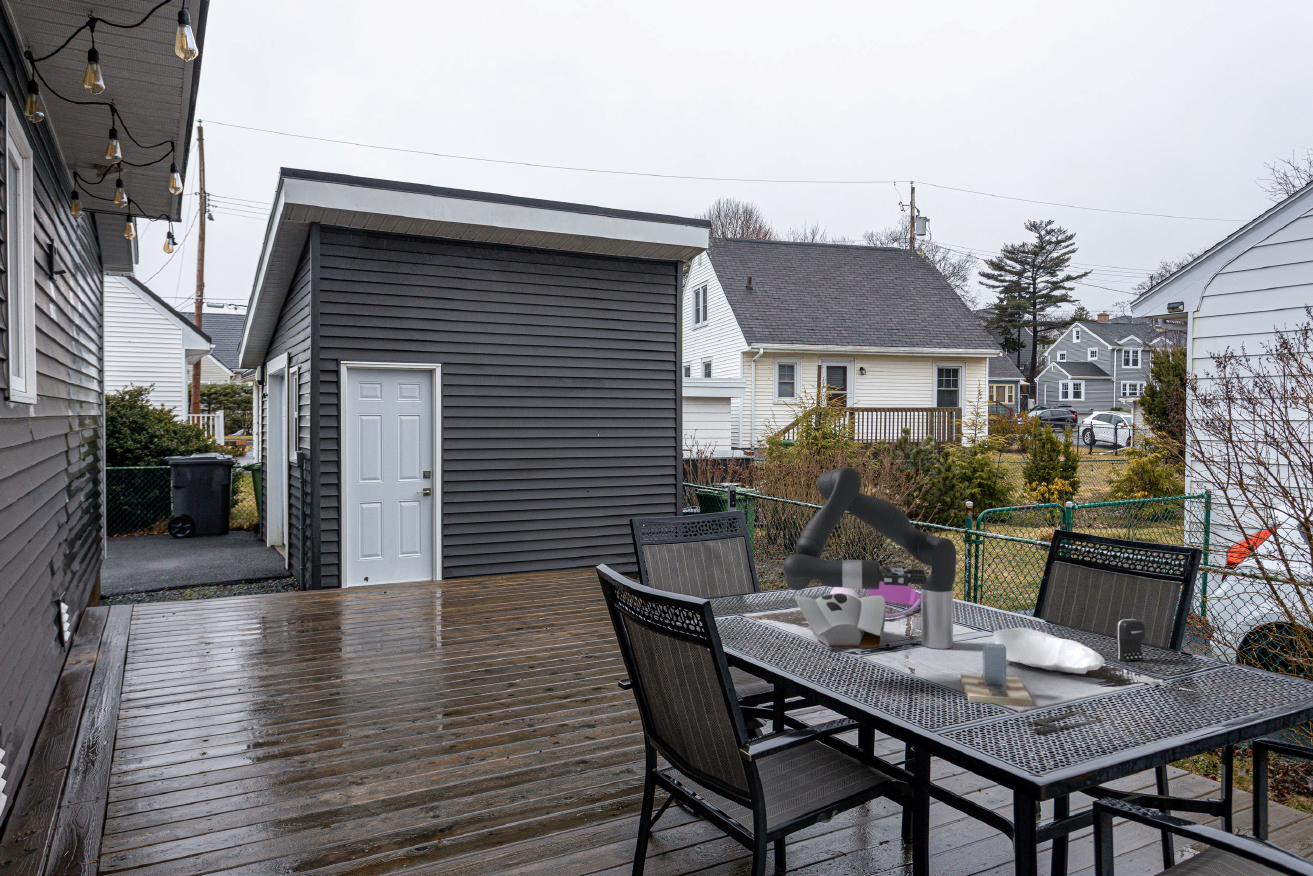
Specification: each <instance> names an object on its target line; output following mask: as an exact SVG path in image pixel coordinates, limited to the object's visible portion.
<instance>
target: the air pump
mask: <svg viewBox="0 0 1313 876" xmlns="http://www.w3.org/2000/svg"><path fill="white" fill-rule="evenodd" d="M867 592H868V593H867V596H878V595H881V596H883V597H884V600H885V603H889V604H900V605H910V606H911V607H910V608H908V609H906V610H904V611H901V612H895V613H885V619H886V618H887V619H889V618H898V617H902V616H906V615H908V614H910V613H911V612H913V611H915V609H916V608H917V607H918V606H921V593H919V592H916V590H915V589H914V588H913V587H910V585H909V586H901V585H884V582H882V581H880V582H879V589H878V590H871V589H867ZM834 593H842V594H848V595H851V596H853V597H856V598H861V596H860V595H859V593H858V592H857V590H856V589H850V588H844V587H832V589H831V590H830V593H829V594H834Z"/></svg>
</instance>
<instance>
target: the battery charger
mask: <svg viewBox="0 0 1313 876" xmlns="http://www.w3.org/2000/svg"><path fill="white" fill-rule="evenodd" d="M1145 625H1146V624H1145V623H1144V622H1143V621H1141V620H1138V619H1135V618H1127V619H1120V620H1118V622H1117V624H1116V645H1117V648H1116V649H1117V657H1116V658H1117V659H1118V660H1121V661H1123V662H1132V661H1131V660H1140V661H1143V660H1144V656H1143V653H1142V642H1143V640H1146V626H1145ZM1142 659H1143V660H1142Z"/></svg>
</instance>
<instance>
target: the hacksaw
mask: <svg viewBox="0 0 1313 876" xmlns="http://www.w3.org/2000/svg"><path fill="white" fill-rule="evenodd" d="M1069 707H1076V708H1080V709H1081V710H1075V711H1073V710H1072V709H1070V708H1069ZM1065 708H1066V710H1068V711H1067V712H1064V714H1060V715H1057V716H1050V717H1046V718H1041V719H1036V720H1032V722H1028V719H1026V718H1025V719H1022V720H1021V722H1022V723H1025V724H1028V725H1038V726H1044V727H1034V728H1033V733H1035V734H1036V735H1039V736H1042V735H1045V734H1048V733H1054V732H1057V731H1061V729H1069V728H1072V727H1078V726H1083V725H1088V724H1092V723H1097V722H1103V721H1106V720H1104V719H1103V718H1101V717H1097V716H1094V715H1088V714H1084V713H1083V712H1084V708H1083V707H1082V706H1078V705H1071V704H1070V705H1069V704H1068V705H1066V706H1065ZM1076 715H1078V716H1079V715H1080V716H1082V717H1088V718H1091V720H1086V721H1082V722H1075V723H1071V724H1066V725H1065V724H1064V725H1060V726H1059V725H1054V724H1050V723H1049V722H1052V721H1053V722H1054V721H1058V720H1062V719H1065V718H1069V717H1072V716H1076Z"/></svg>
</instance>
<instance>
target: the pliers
mask: <svg viewBox="0 0 1313 876" xmlns="http://www.w3.org/2000/svg"><path fill="white" fill-rule="evenodd" d="M1134 680H1138V681H1140V682H1145V683H1147V684H1148V683H1149V684H1158V685H1159V684H1160V685H1164V686H1166V685H1167V684H1166V683H1165V682H1164V681H1163V680H1159V679H1155V678H1152V677H1150V676H1147V675H1141V676H1138V675H1134V676H1133V681H1134ZM1160 685H1159V686H1160ZM1180 689H1182V690H1187V691H1188V690H1189V691H1194V692H1195V690H1192V689H1189V688H1188V689H1187V688H1183V687H1180V688H1179V690H1180ZM1177 690H1178V689H1177Z"/></svg>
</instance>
